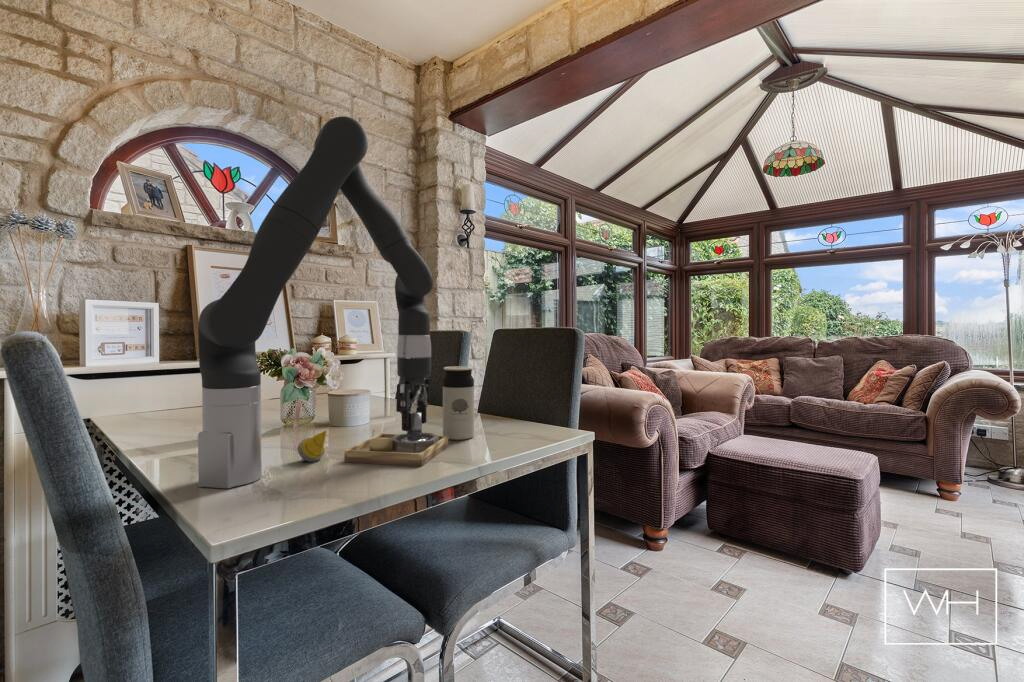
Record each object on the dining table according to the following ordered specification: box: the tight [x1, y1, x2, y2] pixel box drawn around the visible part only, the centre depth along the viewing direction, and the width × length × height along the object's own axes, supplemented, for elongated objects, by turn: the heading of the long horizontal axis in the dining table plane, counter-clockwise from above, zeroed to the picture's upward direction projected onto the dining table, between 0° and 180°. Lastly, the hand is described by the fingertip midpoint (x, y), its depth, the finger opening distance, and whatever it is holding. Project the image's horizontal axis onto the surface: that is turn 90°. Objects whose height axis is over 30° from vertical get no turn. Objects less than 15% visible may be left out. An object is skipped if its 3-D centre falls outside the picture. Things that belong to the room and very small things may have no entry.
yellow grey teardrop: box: [297, 430, 327, 463], centre depth 100 cm, size 5×5×10 cm
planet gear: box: [401, 411, 428, 442], centre depth 108 cm, size 6×6×8 cm
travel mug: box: [442, 365, 475, 441], centre depth 123 cm, size 8×8×18 cm
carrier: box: [343, 432, 449, 467], centre depth 106 cm, size 17×17×4 cm
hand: (414, 426), depth 108 cm, fingers open, 8 cm apart
